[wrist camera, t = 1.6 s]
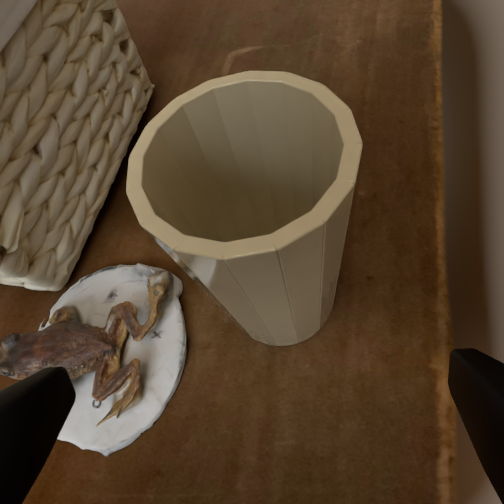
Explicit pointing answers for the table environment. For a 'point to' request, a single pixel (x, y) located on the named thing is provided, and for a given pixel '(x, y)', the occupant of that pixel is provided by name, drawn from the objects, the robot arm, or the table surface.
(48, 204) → the basket
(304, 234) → the cup
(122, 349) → the frog figurine
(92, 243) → the table surface
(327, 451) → the table surface
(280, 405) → the table surface
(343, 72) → the table surface
